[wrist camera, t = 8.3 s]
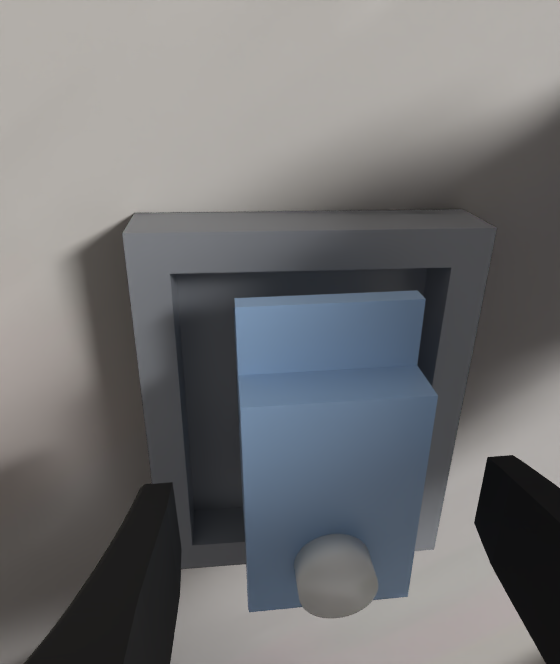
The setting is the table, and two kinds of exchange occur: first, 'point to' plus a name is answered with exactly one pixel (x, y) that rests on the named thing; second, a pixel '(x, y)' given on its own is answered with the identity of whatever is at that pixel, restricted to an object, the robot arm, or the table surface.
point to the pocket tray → (283, 280)
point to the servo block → (331, 447)
